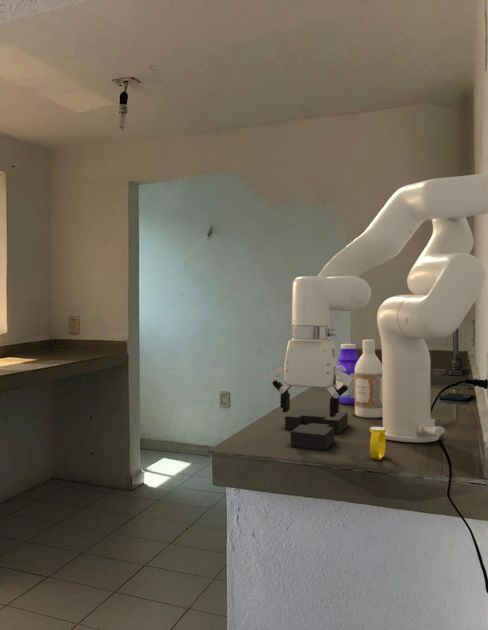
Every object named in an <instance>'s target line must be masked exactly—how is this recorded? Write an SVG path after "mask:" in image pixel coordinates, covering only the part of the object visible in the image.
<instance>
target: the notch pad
mask: <svg viewBox="0 0 488 630" xmlns="http://www.w3.org/2000/svg"><path fill="white" fill-rule="evenodd" d="M348 416H349V415H348V411H339V413H336V416H334V417H331V416H330V410H319V409H307V408H296V409H295V410H293V411H291V412H290V413H288V414H287V415H285V416H284V429H285V430H286V431H293V430H294V429H295V428H297V427H298V426H299V425H309V424H310V423H315V424H328V425H329V427H334V435H340V434H341V432H343V431H344V430H345V429H346V428H347V427H348V426H349V419H348V418H349V417H348Z"/></svg>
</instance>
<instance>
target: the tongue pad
mask: <svg viewBox="0 0 488 630" xmlns="http://www.w3.org/2000/svg"><path fill="white" fill-rule="evenodd" d="M334 442H335V434H334V427H329V425H328V424H315V423H310V424H309V425H299V426H298V427H297V428H295V429H294V430H290V447H291V448H299V449H308V450H309V449H310V450H317V451H318V450H319V451H327V449H328V448H329V447H330V446H331V445H332V444H334Z"/></svg>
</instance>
